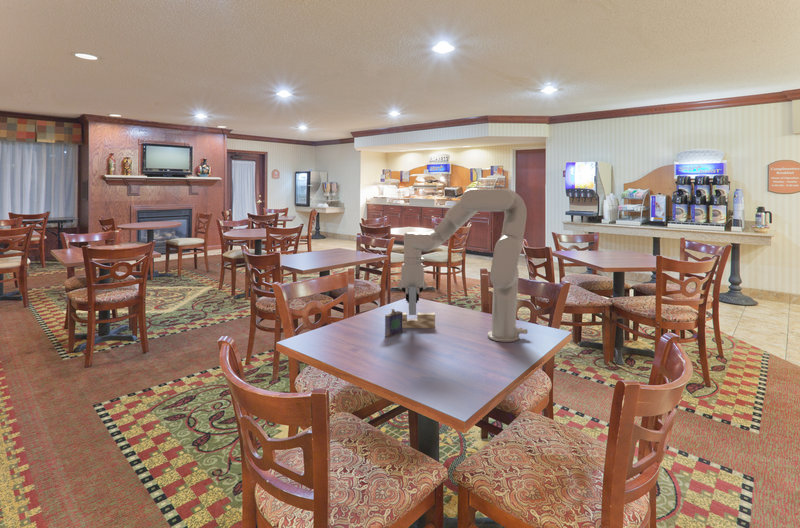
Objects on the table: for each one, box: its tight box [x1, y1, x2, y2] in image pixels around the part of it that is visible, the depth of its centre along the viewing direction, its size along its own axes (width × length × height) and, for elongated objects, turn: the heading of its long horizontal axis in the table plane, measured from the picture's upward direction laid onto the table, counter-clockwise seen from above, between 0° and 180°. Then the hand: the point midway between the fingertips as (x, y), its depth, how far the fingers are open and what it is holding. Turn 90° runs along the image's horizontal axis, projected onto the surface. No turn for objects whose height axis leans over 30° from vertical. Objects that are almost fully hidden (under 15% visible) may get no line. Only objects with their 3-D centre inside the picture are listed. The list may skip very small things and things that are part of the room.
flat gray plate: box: [408, 286, 417, 316], centre depth 194 cm, size 10×3×12 cm, turn 0°
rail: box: [388, 312, 436, 329], centre depth 195 cm, size 20×3×6 cm, turn 90°
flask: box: [384, 308, 403, 338], centre depth 185 cm, size 9×3×11 cm, turn 134°
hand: (412, 302), depth 194 cm, fingers closed on flat gray plate, 3 cm apart
